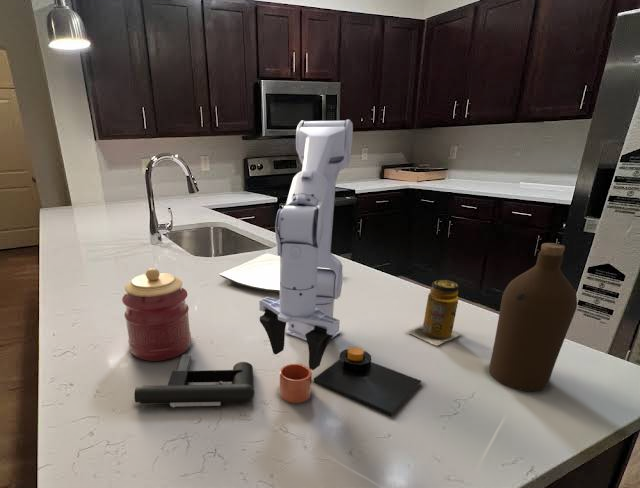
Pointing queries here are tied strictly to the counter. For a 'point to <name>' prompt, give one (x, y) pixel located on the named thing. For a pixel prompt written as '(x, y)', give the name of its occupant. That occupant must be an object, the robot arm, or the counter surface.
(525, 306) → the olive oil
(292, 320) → the robot arm
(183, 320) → the kitchen canister
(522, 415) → the counter surface
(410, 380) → the scale
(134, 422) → the counter surface
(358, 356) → the button
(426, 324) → the condiment
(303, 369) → the cup
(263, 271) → the plate
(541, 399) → the counter surface
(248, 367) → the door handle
